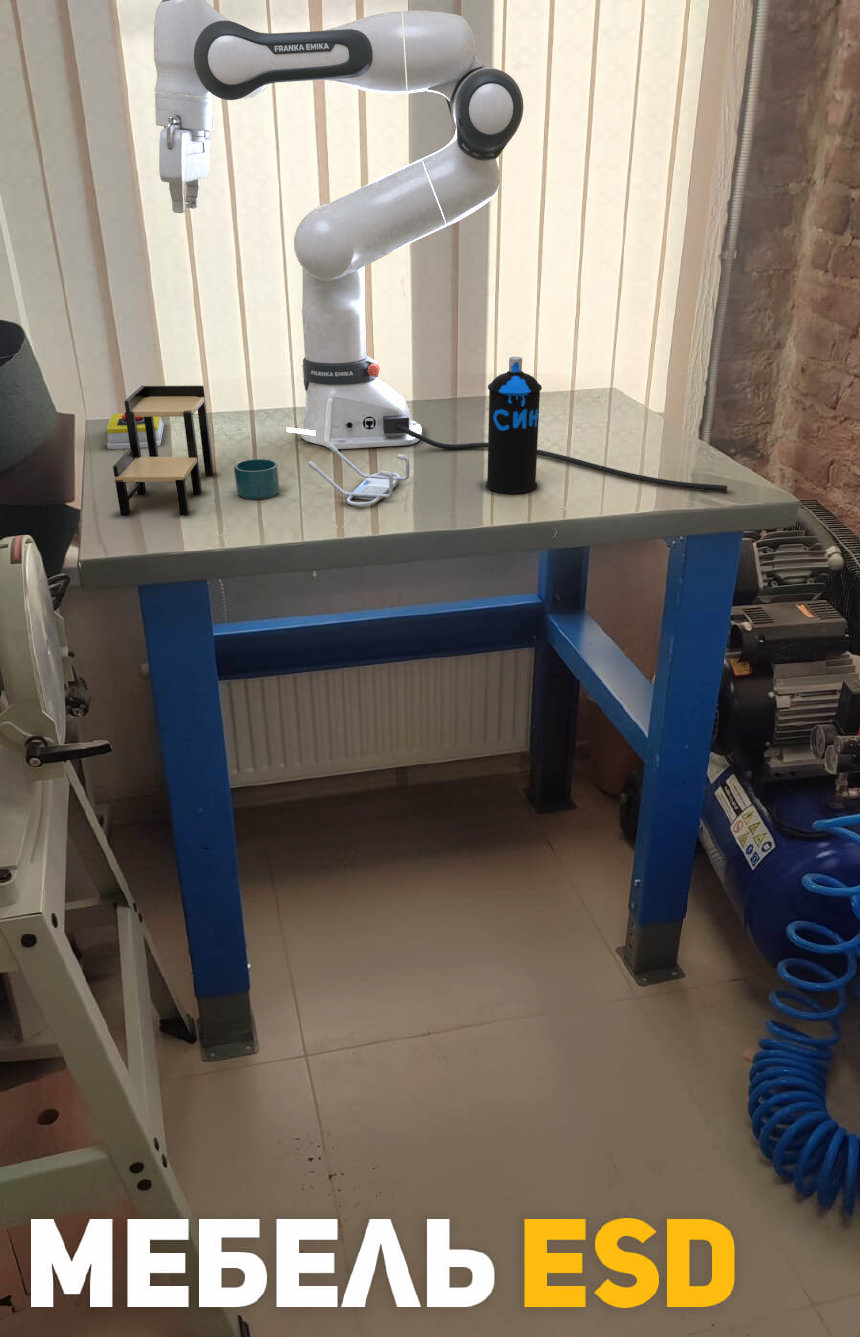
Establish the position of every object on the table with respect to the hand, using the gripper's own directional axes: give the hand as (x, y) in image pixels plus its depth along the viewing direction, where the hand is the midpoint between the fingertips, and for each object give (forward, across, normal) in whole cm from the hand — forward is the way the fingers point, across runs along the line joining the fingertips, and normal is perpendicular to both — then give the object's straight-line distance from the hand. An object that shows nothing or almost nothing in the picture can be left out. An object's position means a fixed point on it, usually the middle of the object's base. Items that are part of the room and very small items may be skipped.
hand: (185, 210), depth 167 cm
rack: (+38, -32, -4) cm, 50 cm away
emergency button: (+40, +1, +10) cm, 41 cm away
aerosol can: (+33, -28, -58) cm, 72 cm away
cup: (+37, -32, -18) cm, 52 cm away
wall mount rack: (+35, -31, -34) cm, 58 cm away
